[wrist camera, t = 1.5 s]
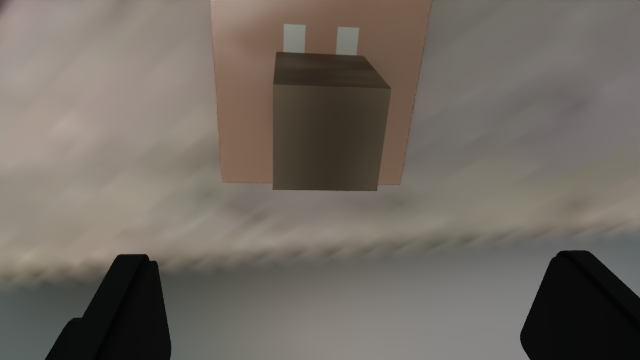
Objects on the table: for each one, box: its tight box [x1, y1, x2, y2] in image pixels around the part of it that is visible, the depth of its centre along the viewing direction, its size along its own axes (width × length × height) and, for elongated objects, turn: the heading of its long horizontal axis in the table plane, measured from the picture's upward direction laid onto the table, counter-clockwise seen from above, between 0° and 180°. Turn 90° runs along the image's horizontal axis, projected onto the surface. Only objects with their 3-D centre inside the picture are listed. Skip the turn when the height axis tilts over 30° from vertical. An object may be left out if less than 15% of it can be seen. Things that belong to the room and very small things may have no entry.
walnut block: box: [273, 52, 391, 191], centre depth 21 cm, size 5×5×7 cm
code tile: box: [210, 0, 432, 185], centre depth 25 cm, size 12×12×1 cm
